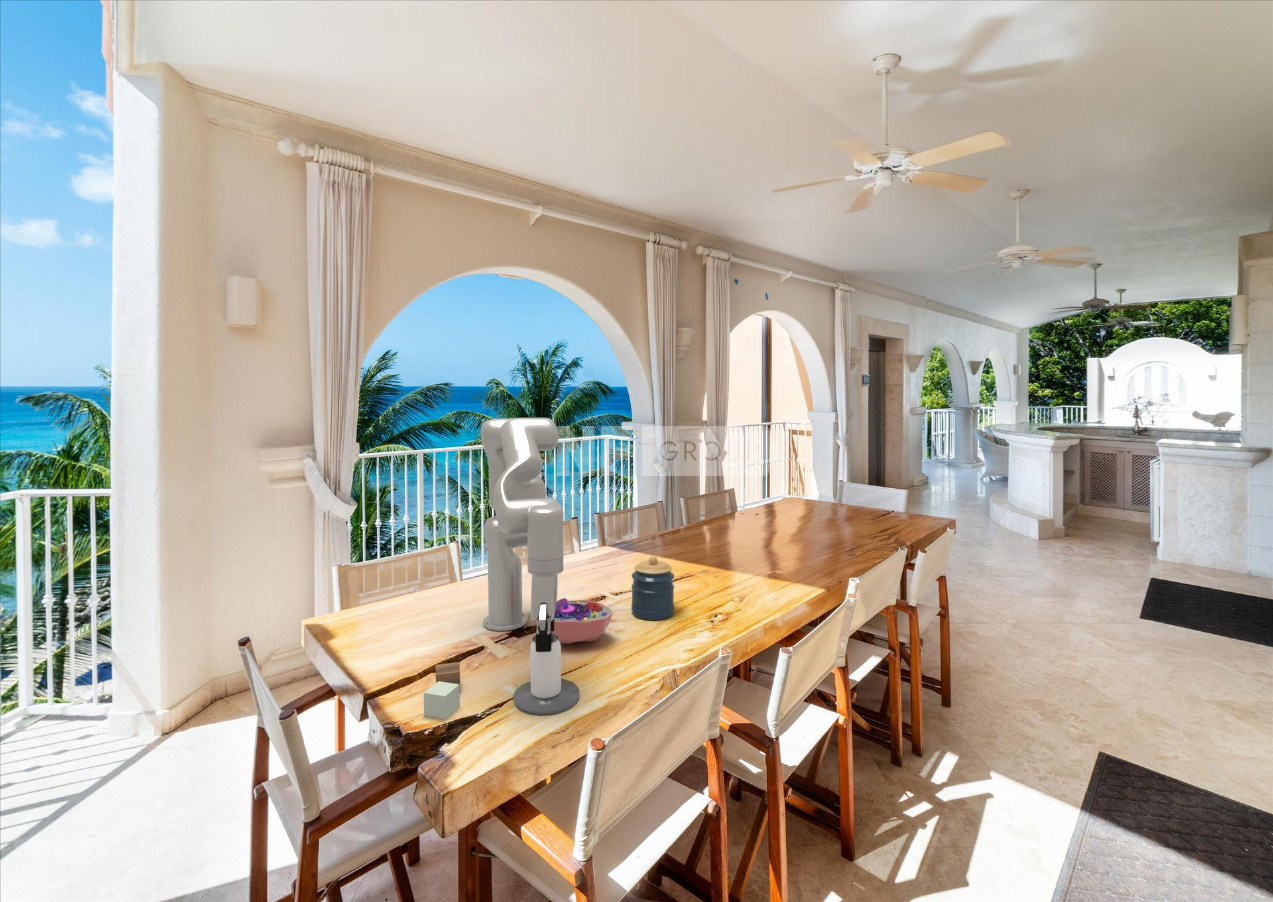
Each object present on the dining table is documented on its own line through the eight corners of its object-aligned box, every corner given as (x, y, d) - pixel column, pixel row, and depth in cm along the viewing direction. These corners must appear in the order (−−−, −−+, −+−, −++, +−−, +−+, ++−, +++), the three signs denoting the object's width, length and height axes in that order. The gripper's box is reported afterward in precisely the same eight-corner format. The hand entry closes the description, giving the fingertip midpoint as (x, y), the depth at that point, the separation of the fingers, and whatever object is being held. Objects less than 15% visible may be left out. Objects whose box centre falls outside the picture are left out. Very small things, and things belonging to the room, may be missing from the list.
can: (562, 684, 126) (562, 632, 125) (559, 699, 119) (558, 644, 118) (533, 684, 126) (533, 632, 125) (528, 699, 119) (527, 644, 118)
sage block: (439, 703, 119) (438, 681, 119) (459, 707, 118) (459, 684, 118) (424, 716, 115) (423, 692, 114) (445, 720, 113) (445, 696, 113)
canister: (626, 608, 176) (626, 552, 175) (665, 603, 180) (665, 549, 179) (638, 623, 164) (639, 563, 162) (680, 618, 168) (681, 560, 166)
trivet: (517, 682, 128) (517, 678, 128) (579, 680, 130) (579, 676, 130) (509, 716, 115) (509, 711, 115) (578, 713, 116) (578, 709, 116)
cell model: (603, 657, 142) (603, 613, 141) (528, 650, 146) (527, 607, 145) (619, 631, 158) (619, 591, 157) (551, 625, 162) (550, 586, 161)
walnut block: (436, 686, 127) (435, 664, 126) (459, 683, 128) (459, 661, 128) (436, 697, 122) (435, 675, 122) (460, 693, 124) (460, 671, 123)
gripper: (531, 551, 128) (531, 624, 130) (522, 577, 111) (523, 660, 113) (565, 551, 129) (564, 623, 131) (561, 577, 112) (560, 659, 114)
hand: (545, 640), depth 122 cm, fingers open, 9 cm apart
